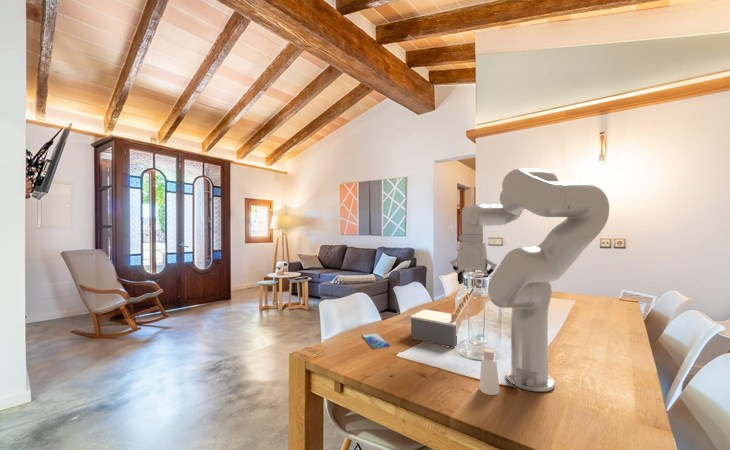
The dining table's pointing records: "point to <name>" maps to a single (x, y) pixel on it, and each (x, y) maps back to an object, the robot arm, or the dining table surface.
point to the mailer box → (433, 332)
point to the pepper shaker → (489, 374)
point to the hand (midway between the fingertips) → (472, 284)
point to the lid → (435, 317)
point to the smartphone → (375, 341)
